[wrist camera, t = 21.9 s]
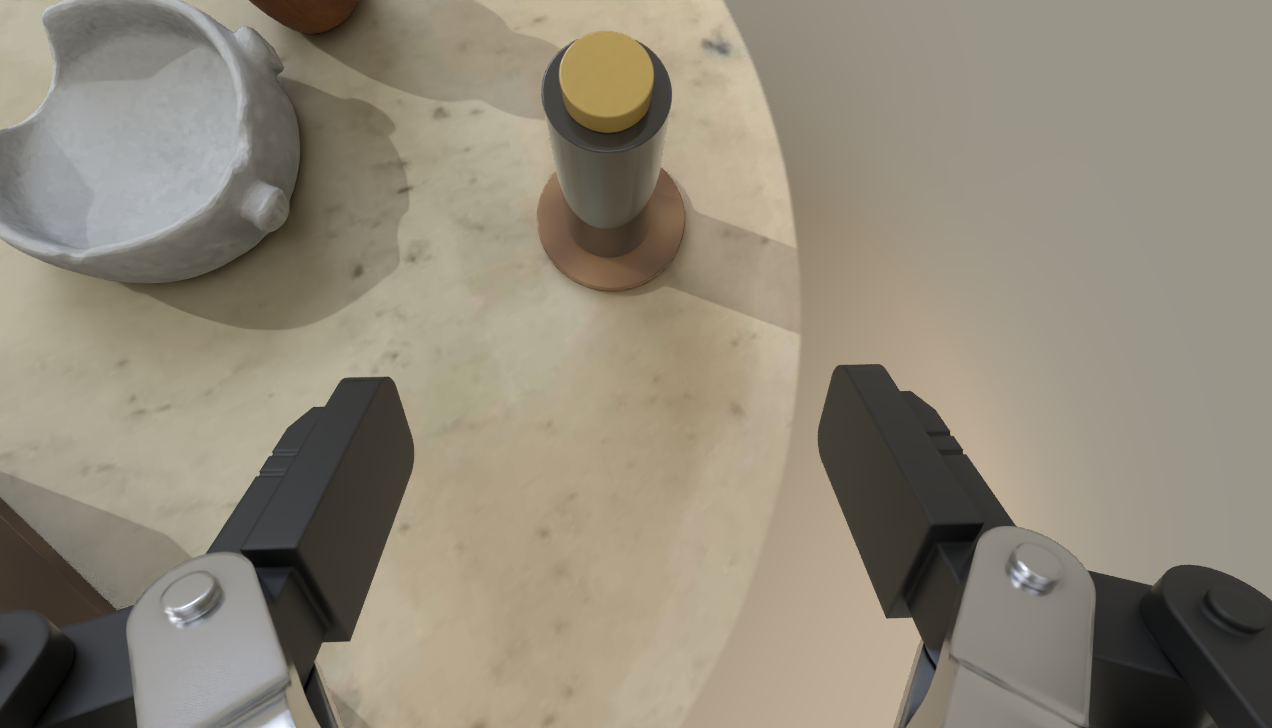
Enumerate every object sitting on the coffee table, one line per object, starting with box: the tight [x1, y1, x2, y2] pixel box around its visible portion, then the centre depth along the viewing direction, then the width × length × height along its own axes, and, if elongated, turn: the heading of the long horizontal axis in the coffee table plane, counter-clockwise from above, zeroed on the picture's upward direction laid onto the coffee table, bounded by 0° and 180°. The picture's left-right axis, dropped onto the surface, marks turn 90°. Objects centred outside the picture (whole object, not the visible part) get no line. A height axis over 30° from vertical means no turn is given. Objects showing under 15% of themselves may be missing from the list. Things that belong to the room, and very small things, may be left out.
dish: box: [0, 0, 300, 283], centre depth 29 cm, size 14×14×5 cm
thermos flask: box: [542, 31, 672, 257], centre depth 25 cm, size 5×5×12 cm
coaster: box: [537, 168, 685, 291], centre depth 31 cm, size 8×8×1 cm
